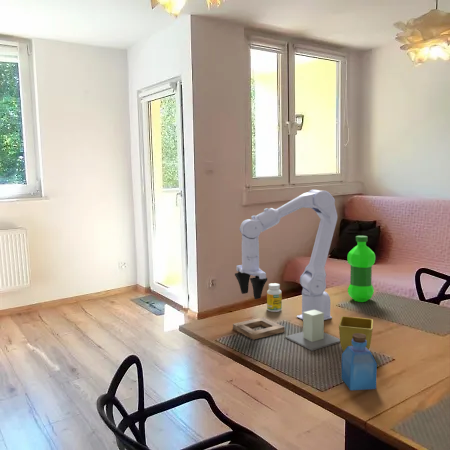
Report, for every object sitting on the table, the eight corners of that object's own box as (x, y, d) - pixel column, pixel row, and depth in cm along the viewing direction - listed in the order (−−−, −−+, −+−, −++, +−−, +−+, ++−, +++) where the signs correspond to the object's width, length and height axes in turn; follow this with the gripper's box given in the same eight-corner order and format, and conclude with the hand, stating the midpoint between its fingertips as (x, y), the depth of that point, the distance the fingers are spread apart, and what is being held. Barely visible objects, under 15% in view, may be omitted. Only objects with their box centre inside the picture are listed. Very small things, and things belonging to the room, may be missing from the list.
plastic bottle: (344, 296, 183) (345, 234, 180) (371, 296, 182) (373, 234, 179) (348, 303, 173) (349, 238, 170) (377, 304, 172) (378, 238, 169)
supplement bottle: (275, 306, 171) (275, 281, 170) (284, 310, 167) (284, 284, 166) (264, 309, 168) (263, 284, 167) (273, 313, 164) (273, 287, 163)
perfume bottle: (341, 378, 113) (342, 331, 111) (365, 376, 113) (366, 330, 112) (350, 390, 107) (351, 341, 105) (376, 388, 107) (377, 339, 106)
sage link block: (314, 334, 141) (314, 309, 140) (323, 338, 137) (323, 312, 136) (303, 337, 139) (303, 312, 138) (312, 341, 135) (312, 315, 134)
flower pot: (372, 349, 130) (373, 318, 129) (371, 361, 122) (372, 328, 121) (341, 345, 133) (341, 315, 132) (338, 357, 125) (338, 325, 124)
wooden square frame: (263, 321, 155) (263, 317, 155) (284, 331, 145) (284, 326, 145) (232, 328, 149) (232, 323, 149) (253, 339, 139) (253, 334, 139)
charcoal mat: (314, 330, 146) (314, 328, 146) (342, 341, 136) (342, 340, 136) (285, 337, 140) (285, 336, 140) (311, 350, 130) (311, 349, 130)
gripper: (228, 253, 155) (229, 292, 157) (252, 260, 143) (253, 303, 145) (245, 251, 159) (246, 289, 161) (271, 258, 147) (271, 299, 148)
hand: (250, 295), depth 153 cm, fingers open, 7 cm apart
